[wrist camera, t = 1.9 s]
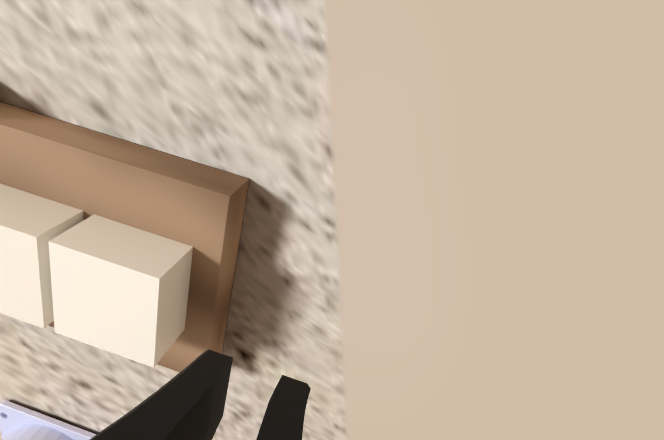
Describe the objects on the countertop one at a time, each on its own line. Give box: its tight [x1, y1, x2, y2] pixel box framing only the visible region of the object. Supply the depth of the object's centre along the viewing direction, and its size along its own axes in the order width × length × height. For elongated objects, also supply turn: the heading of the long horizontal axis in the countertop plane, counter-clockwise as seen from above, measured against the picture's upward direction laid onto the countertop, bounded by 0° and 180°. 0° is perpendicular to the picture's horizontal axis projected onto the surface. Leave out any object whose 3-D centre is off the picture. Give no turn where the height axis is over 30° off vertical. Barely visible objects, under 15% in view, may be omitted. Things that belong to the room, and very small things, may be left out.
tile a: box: [48, 214, 193, 368], centre depth 19 cm, size 4×4×2 cm
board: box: [0, 102, 249, 372], centre depth 21 cm, size 10×12×2 cm
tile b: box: [0, 184, 84, 328], centre depth 19 cm, size 4×4×2 cm
